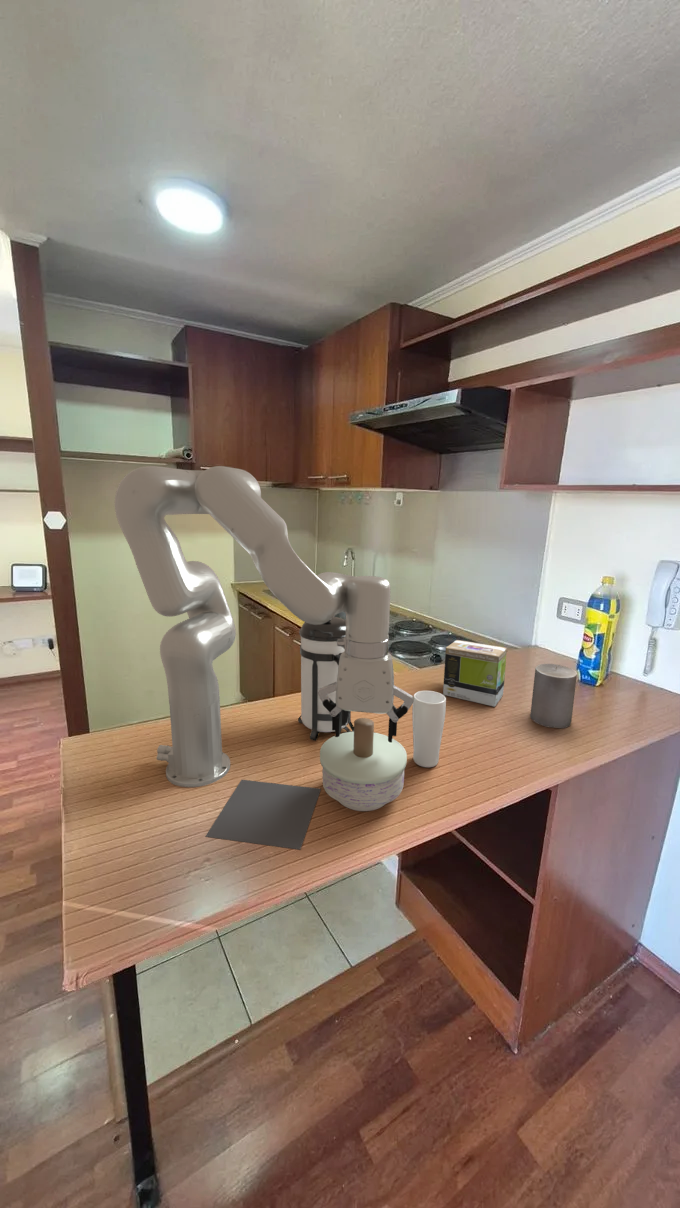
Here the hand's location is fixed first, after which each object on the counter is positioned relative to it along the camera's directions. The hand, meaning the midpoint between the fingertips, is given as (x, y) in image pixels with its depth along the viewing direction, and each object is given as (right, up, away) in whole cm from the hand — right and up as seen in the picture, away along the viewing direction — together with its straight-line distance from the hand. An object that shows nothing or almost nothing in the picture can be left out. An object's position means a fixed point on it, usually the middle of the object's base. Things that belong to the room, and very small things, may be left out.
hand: (364, 736), depth 84 cm
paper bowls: (0, -12, +3) cm, 13 cm away
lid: (0, -4, +1) cm, 5 cm away
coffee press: (-7, -7, +28) cm, 29 cm away
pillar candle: (+50, -6, +34) cm, 61 cm away
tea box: (+34, -2, +49) cm, 59 cm away
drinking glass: (+14, -10, +14) cm, 22 cm away
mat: (-17, -13, -2) cm, 22 cm away
